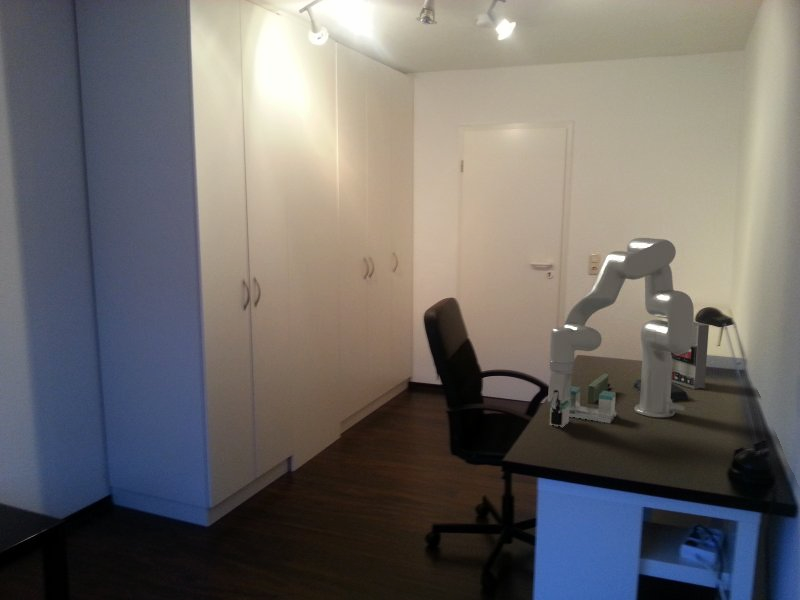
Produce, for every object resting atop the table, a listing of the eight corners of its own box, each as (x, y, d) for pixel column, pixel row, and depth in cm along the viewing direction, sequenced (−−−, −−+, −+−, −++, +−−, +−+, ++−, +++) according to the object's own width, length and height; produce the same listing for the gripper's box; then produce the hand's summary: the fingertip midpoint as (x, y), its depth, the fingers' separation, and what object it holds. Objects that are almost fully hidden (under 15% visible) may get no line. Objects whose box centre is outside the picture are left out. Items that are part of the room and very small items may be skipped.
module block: (568, 422, 206) (569, 400, 205) (563, 427, 201) (564, 405, 200) (554, 419, 209) (555, 398, 208) (549, 425, 203) (550, 403, 202)
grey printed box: (665, 381, 259) (669, 320, 256) (677, 379, 261) (681, 319, 258) (693, 389, 246) (697, 325, 243) (705, 388, 249) (709, 324, 245)
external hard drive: (661, 387, 251) (662, 377, 250) (691, 402, 232) (692, 391, 231) (630, 388, 249) (631, 378, 248) (658, 403, 230) (658, 392, 229)
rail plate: (616, 415, 214) (617, 391, 213) (609, 423, 205) (611, 398, 204) (568, 407, 222) (569, 384, 221) (560, 415, 213) (561, 391, 212)
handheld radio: (584, 403, 228) (603, 387, 249) (594, 404, 227) (612, 388, 248) (586, 385, 227) (605, 370, 248) (595, 386, 226) (614, 372, 247)
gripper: (557, 359, 212) (555, 412, 214) (541, 370, 197) (539, 426, 199) (580, 362, 208) (577, 416, 210) (566, 373, 193) (563, 431, 196)
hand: (559, 420), depth 205 cm, fingers closed on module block, 6 cm apart
